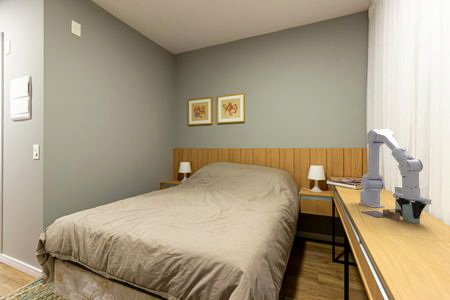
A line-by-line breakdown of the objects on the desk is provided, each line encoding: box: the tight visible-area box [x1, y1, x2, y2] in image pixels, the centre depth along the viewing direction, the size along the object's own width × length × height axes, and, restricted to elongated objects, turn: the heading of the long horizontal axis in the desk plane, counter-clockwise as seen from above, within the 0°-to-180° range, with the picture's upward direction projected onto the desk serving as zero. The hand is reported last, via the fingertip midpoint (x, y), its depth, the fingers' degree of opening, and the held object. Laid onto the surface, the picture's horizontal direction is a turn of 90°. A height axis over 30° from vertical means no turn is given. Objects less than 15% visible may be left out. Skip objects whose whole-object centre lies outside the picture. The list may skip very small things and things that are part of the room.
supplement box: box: [394, 185, 421, 210], centre depth 107 cm, size 7×7×13 cm
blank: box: [402, 204, 421, 224], centre depth 91 cm, size 4×4×7 cm
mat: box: [360, 210, 388, 219], centre depth 101 cm, size 9×9×1 cm
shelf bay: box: [382, 208, 403, 222], centre depth 96 cm, size 8×10×3 cm
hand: (411, 216), depth 91 cm, fingers closed on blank, 4 cm apart
